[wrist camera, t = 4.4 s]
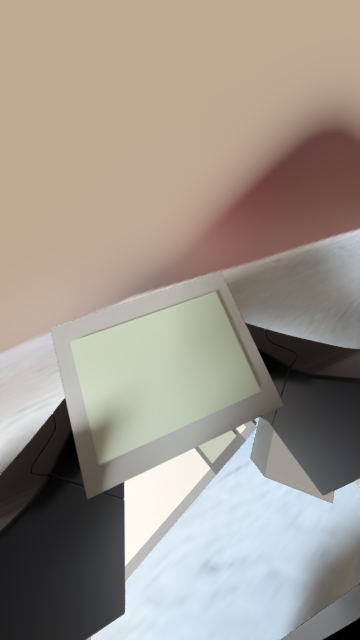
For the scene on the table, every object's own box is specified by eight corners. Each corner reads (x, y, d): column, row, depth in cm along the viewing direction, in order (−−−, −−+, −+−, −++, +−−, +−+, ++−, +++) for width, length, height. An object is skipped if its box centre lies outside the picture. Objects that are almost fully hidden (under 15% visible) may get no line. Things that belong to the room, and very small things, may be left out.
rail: (255, 425, 18) (262, 431, 17) (43, 671, 13) (28, 708, 12) (204, 367, 19) (206, 368, 18) (-10, 574, 14) (-29, 598, 13)
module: (201, 367, 15) (289, 407, 4) (151, 387, 14) (81, 509, 3) (186, 328, 15) (223, 267, 4) (138, 346, 15) (43, 326, 4)
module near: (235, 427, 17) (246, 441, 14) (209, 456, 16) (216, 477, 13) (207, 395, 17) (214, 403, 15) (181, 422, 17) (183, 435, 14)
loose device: (312, 436, 19) (338, 452, 16) (306, 478, 18) (332, 503, 15) (258, 415, 19) (274, 427, 16) (249, 456, 18) (264, 476, 15)
